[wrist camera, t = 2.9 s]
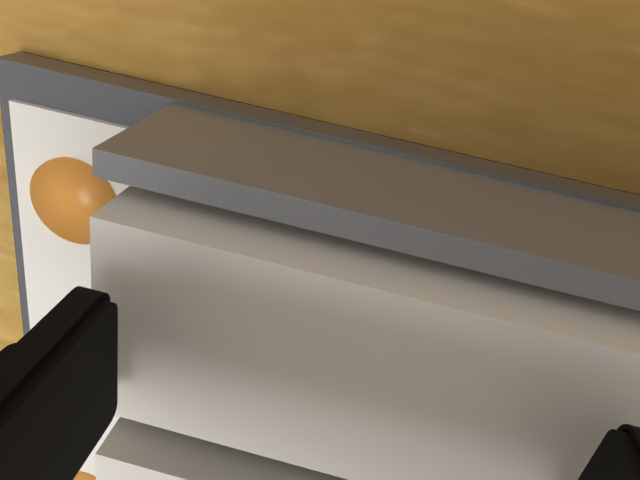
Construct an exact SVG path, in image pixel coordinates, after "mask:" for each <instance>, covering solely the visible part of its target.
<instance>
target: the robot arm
mask: <svg viewBox="0 0 640 480" xmlns="http://www.w3.org/2000/svg"><path fill="white" fill-rule="evenodd" d="M117 396H118V306H117V304H116V303H114V302H111V300H110V296H109V294H108V293H106V292H102V291H98V290H94V289H90V288H86V287H82V286H77V287H75V288H74V289H72V290H71V291H70V292H69V293H68V294H67V295H66V296H65V297H64V298H63V299H62V300H61V301H60V302H59V303H58V304H57V305H56V306H55V307H54V308H52V309H51V310H50V311H49V312H48V313H47V314H46V315H45V316H44V317H43V318H42V319H41V320H40V321H39V322H38V323H37V324H36V325H35V326H34V327H33V328H32V329H31V330H30V331H29V332H28V333H26V334H25V335H24V336H23V337H22V338H21V339H20V340H19V341H18V342H17V343H14V344H10V345H8V346H7V347H5V348H4V349H3V350H1V351H0V480H73V479H74V478H75V476H76V475H77V473H78V472H79V470H80V469H81V467H82V466H83V464H84V463H85V461H86V460H87V458H88V457H89V455H90V454H91V452H92V451H93V449H94V448H95V446H96V444H97V443H98V441H99V440H100V438H101V437H102V435H103V434H104V432H105V431H106V429H107V428H108V426H109V425H110V423H111V421H112V420H113V417H114V415H115V412H116V409H117ZM578 480H640V427H637V426H633V425H629V424H622V425H621V426H619V427H618V429H617V430H616V429H611V430H609V431H608V432H607V433H606V435H605V436H604V438H603V440H602V441H601V443H600V445H599V446H598V448H597V449H596V451H595V453H594V454H593V456H592V457H591V459H590V461H589V462H588V464H587V465H586V467H585V469H584V470H583V472H582V473H581V475H580V477H579V478H578Z"/></svg>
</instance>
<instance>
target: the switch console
mask: <svg viewBox="0 0 640 480" xmlns="http://www.w3.org/2000/svg"><path fill="white" fill-rule="evenodd" d="M0 103H1V113H2V123H3V133H4V143H5V153H6V163H7V173H8V183H9V193H10V203H11V213H12V223H13V232H14V242H15V252H16V262H17V272H18V282H19V292H20V302H21V312H22V322H23V332H24V335H25V334H26V333H28V332H29V331H30V330H31V329H32V328H33V327H34V326H35V325H36V324H37V323H38V322H39V321H40V320H41V319H42V318H43V317H44V316H45V315H46V314H47V313H48V312H49V311H50V310H51V309H52V308H54V307H55V306H56V305H57V304H58V303H59V302H60V301H61V300H62V299H63V298H64V297H65V296H66V295H67V294H68V293H69V292H70V291H71V290H72V289H74V288H75V287H77V286H82V287H86V288H90V289H91V255H90V216H91V215H92V214H94V213H95V212H96V211H98V210H99V209H100V208H102V207H103V206H104V205H105V204H107V203H108V202H109V201H111V200H112V199H113V198H115V197H116V196H117V195H118V194H120V193H121V192H122V191H124V190H125V189H126V188H128V187H129V186H133V187H137V188H141V189H145V190H149V191H153V192H157V193H161V194H165V195H170V196H174V197H178V198H182V199H186V200H190V201H194V202H198V203H202V204H206V205H210V206H214V207H218V208H222V209H226V210H231V211H235V212H239V213H243V214H247V215H251V216H255V217H259V218H263V219H267V220H271V221H275V222H279V223H283V224H287V225H291V226H296V227H300V228H304V229H308V230H312V231H316V232H320V233H324V234H328V235H332V236H336V237H340V238H344V239H348V240H352V241H356V242H361V243H365V244H369V245H373V246H377V247H381V248H385V249H389V250H393V251H397V252H401V253H405V254H409V255H413V256H417V257H421V258H426V259H430V260H434V261H438V262H442V263H446V264H450V265H454V266H458V267H462V268H466V269H470V270H474V271H478V272H482V273H487V274H491V275H495V276H499V277H503V278H507V279H511V280H515V281H519V282H523V283H527V284H531V285H535V286H539V287H543V288H547V289H552V290H556V291H560V292H564V293H568V294H572V295H576V296H580V297H584V298H588V299H592V300H596V301H600V302H604V303H608V304H612V305H617V306H621V307H625V308H629V309H633V310H637V311H640V195H636V194H632V193H627V192H623V191H619V190H614V189H610V188H606V187H602V186H597V185H593V184H589V183H584V182H580V181H576V180H571V179H567V178H563V177H558V176H554V175H550V174H546V173H541V172H537V171H533V170H528V169H524V168H520V167H515V166H511V165H507V164H503V163H498V162H494V161H490V160H485V159H481V158H477V157H472V156H468V155H464V154H459V153H455V152H451V151H447V150H442V149H438V148H434V147H429V146H425V145H421V144H416V143H412V142H408V141H404V140H399V139H395V138H391V137H386V136H382V135H378V134H373V133H369V132H365V131H360V130H356V129H352V128H348V127H343V126H339V125H335V124H330V123H326V122H322V121H317V120H313V119H309V118H305V117H300V116H296V115H292V114H287V113H283V112H279V111H274V110H270V109H266V108H262V107H257V106H253V105H249V104H244V103H240V102H236V101H231V100H227V99H223V98H218V97H214V96H210V95H206V94H201V93H197V92H193V91H188V90H184V89H180V88H175V87H171V86H167V85H163V84H158V83H154V82H150V81H145V80H141V79H137V78H132V77H128V76H124V75H119V74H115V73H111V72H107V71H102V70H98V69H94V68H89V67H85V66H81V65H76V64H72V63H68V62H64V61H59V60H55V59H51V58H46V57H42V56H38V55H33V54H29V53H25V52H17V53H13V54H9V55H4V56H0ZM119 418H120V417H119V416H115V415H114V417H113V420H112V421H111V423H110V425H109V426H108V428H107V429H106V431H105V432H104V434H103V435H102V437H101V438H100V440H99V441H98V443H97V444H96V446H95V448H94V449H93V451H92V452H91V454H90V455H89V457H88V458H87V460H86V461H85V463H84V464H83V466H82V467H81V469H80V470H79V472H78V473H77V475H76V476H75V478H74V479H73V480H96V467H95V453H96V452H97V450H98V449H99V448H100V446H101V445H102V443H103V442H104V440H105V439H106V437H107V436H108V434H109V433H110V431H111V430H112V428H113V427H114V425H115V424H116V422H117V421H118V419H119Z"/></svg>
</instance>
